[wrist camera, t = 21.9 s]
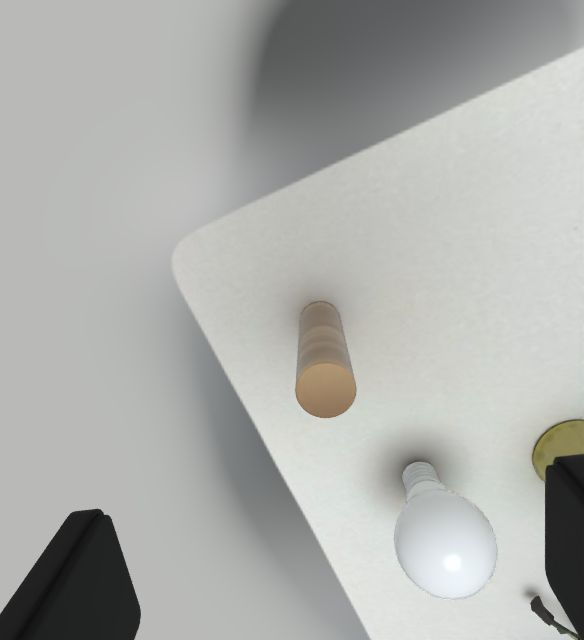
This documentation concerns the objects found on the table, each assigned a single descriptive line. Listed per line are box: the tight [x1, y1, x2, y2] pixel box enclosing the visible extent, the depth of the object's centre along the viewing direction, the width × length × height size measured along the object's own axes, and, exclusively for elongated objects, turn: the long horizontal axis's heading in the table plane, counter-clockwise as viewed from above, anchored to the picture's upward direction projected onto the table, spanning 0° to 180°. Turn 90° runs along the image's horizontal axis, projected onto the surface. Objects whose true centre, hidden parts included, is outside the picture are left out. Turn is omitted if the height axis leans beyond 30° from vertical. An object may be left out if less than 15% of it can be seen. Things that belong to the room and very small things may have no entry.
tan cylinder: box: [295, 302, 356, 418], centre depth 29 cm, size 3×3×12 cm
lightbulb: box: [394, 462, 498, 600], centre depth 33 cm, size 6×6×11 cm
